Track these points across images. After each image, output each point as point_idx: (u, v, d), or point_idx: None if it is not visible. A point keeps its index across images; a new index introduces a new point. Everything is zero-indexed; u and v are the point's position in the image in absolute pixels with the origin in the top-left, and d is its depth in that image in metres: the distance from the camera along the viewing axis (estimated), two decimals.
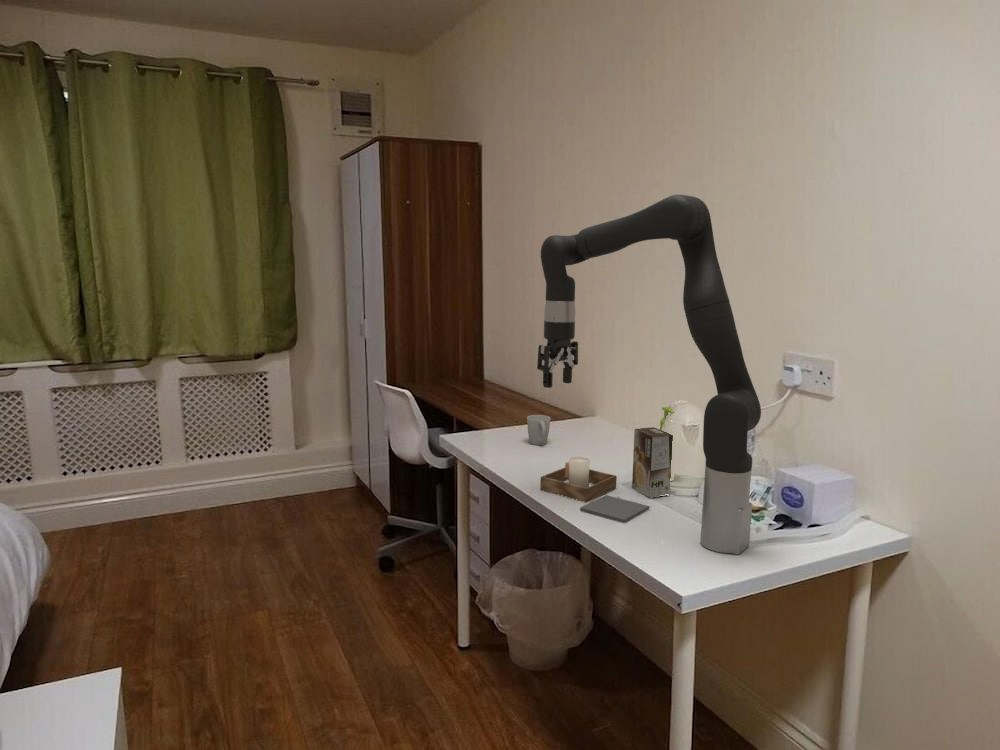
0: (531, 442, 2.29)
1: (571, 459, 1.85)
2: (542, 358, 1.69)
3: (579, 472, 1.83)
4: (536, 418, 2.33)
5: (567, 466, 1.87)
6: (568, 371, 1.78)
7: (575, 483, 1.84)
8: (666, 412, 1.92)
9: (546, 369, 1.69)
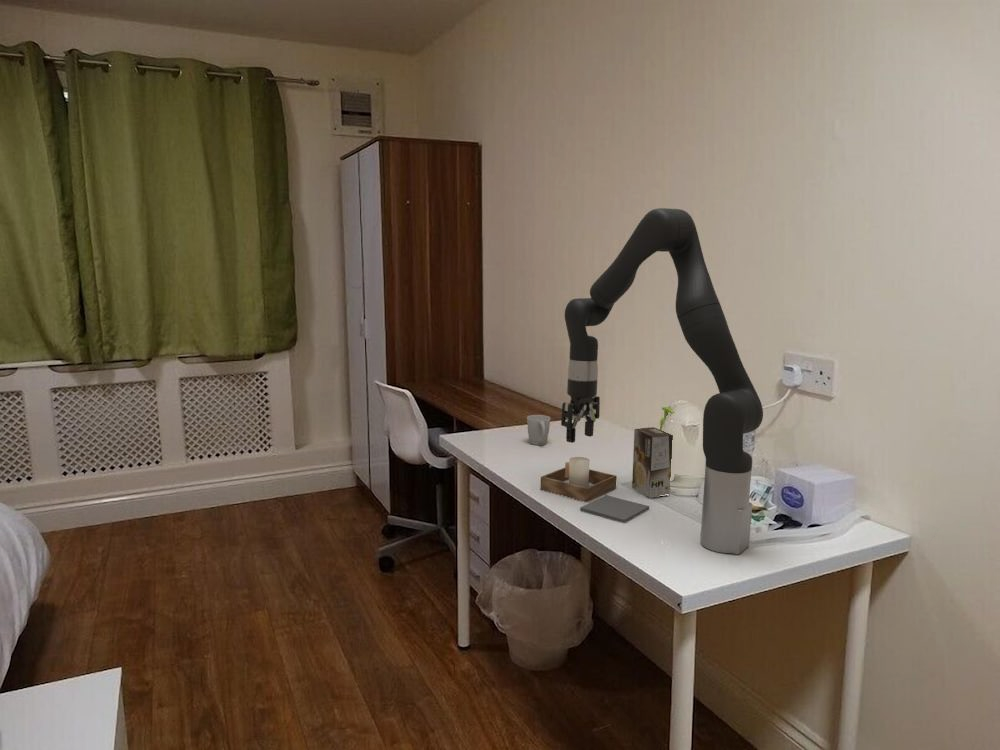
0: (531, 442, 2.29)
1: (571, 459, 1.85)
2: (566, 415, 1.77)
3: (579, 472, 1.83)
4: (536, 418, 2.33)
5: (567, 466, 1.87)
6: (590, 425, 1.86)
7: (575, 483, 1.84)
8: (666, 412, 1.92)
9: (569, 426, 1.77)
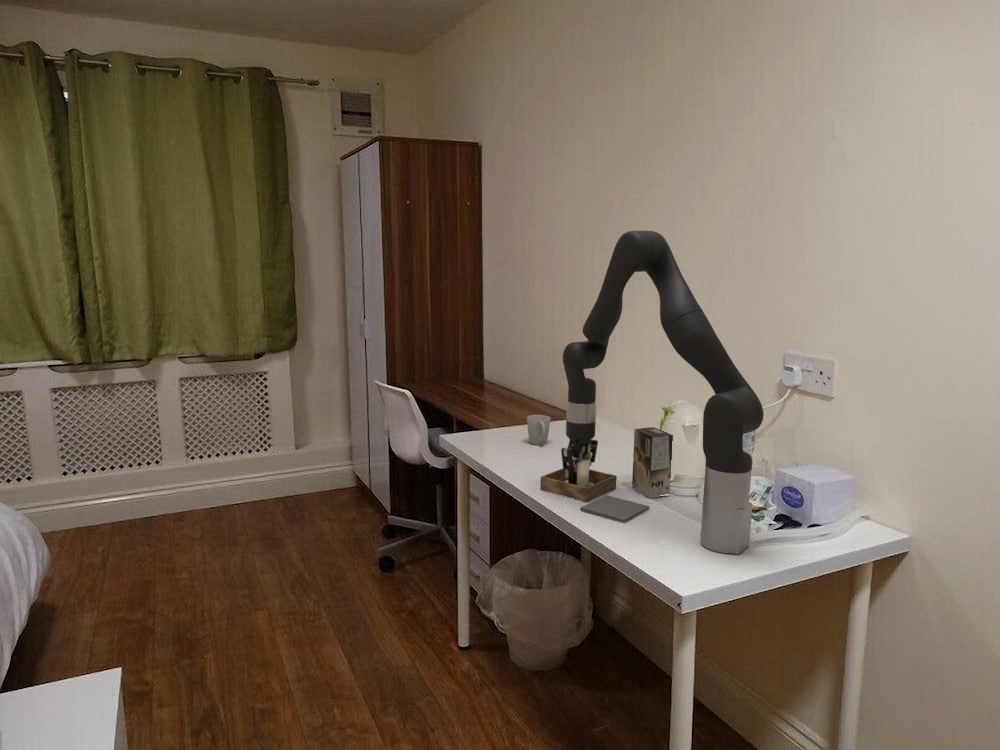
0: (531, 442, 2.29)
1: None
2: (566, 461, 1.80)
3: (579, 472, 1.83)
4: (536, 418, 2.33)
5: None
6: None
7: None
8: (666, 412, 1.92)
9: (571, 470, 1.80)
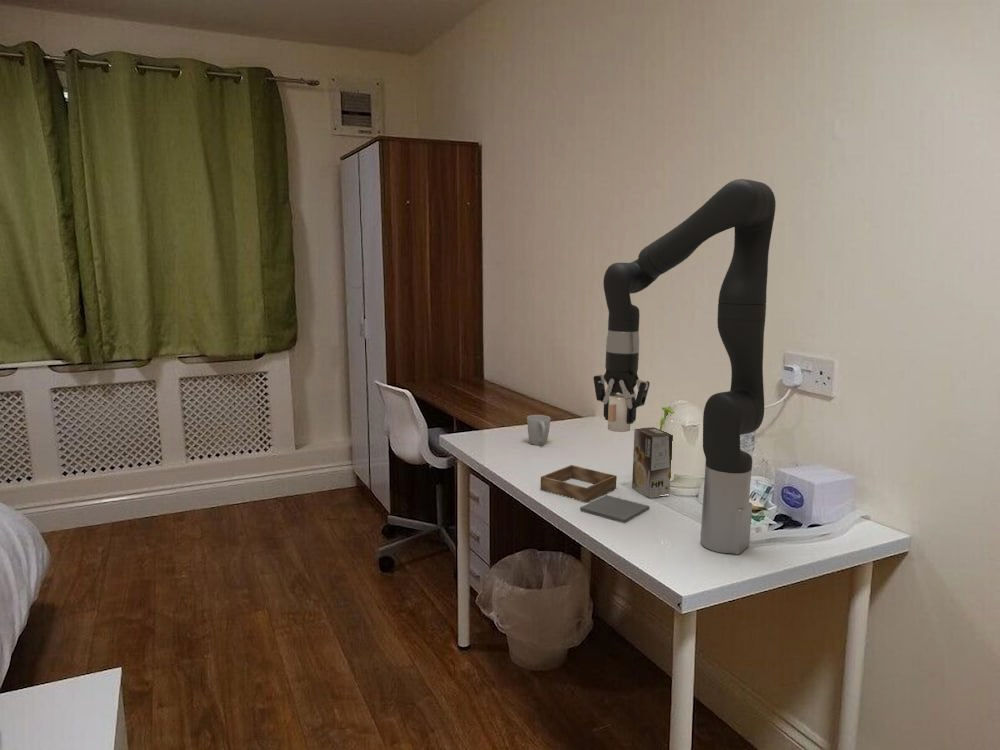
0: (531, 442, 2.29)
1: (623, 397, 1.65)
2: (644, 395, 1.63)
3: None
4: (536, 418, 2.33)
5: (614, 408, 1.64)
6: None
7: None
8: (666, 412, 1.92)
9: None
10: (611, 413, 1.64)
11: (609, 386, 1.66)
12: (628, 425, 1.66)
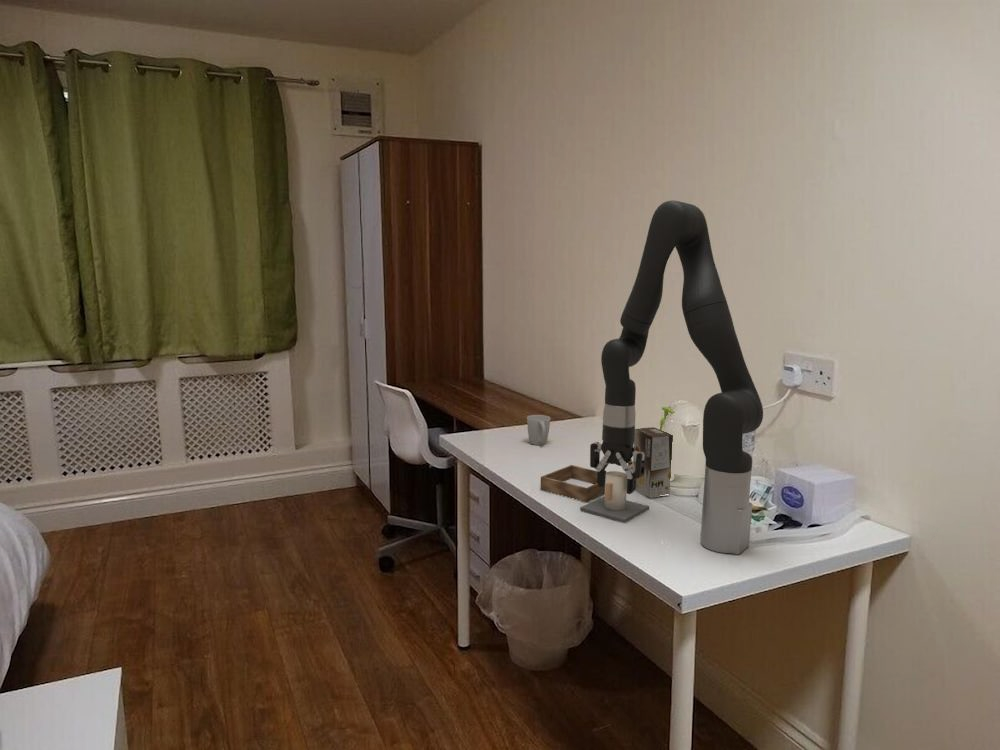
0: (531, 442, 2.29)
1: (619, 477, 1.68)
2: (643, 465, 1.65)
3: None
4: (536, 418, 2.33)
5: (611, 487, 1.68)
6: (604, 474, 1.73)
7: (625, 498, 1.70)
8: (666, 412, 1.92)
9: None
10: (608, 492, 1.68)
11: (605, 457, 1.69)
12: (624, 503, 1.70)
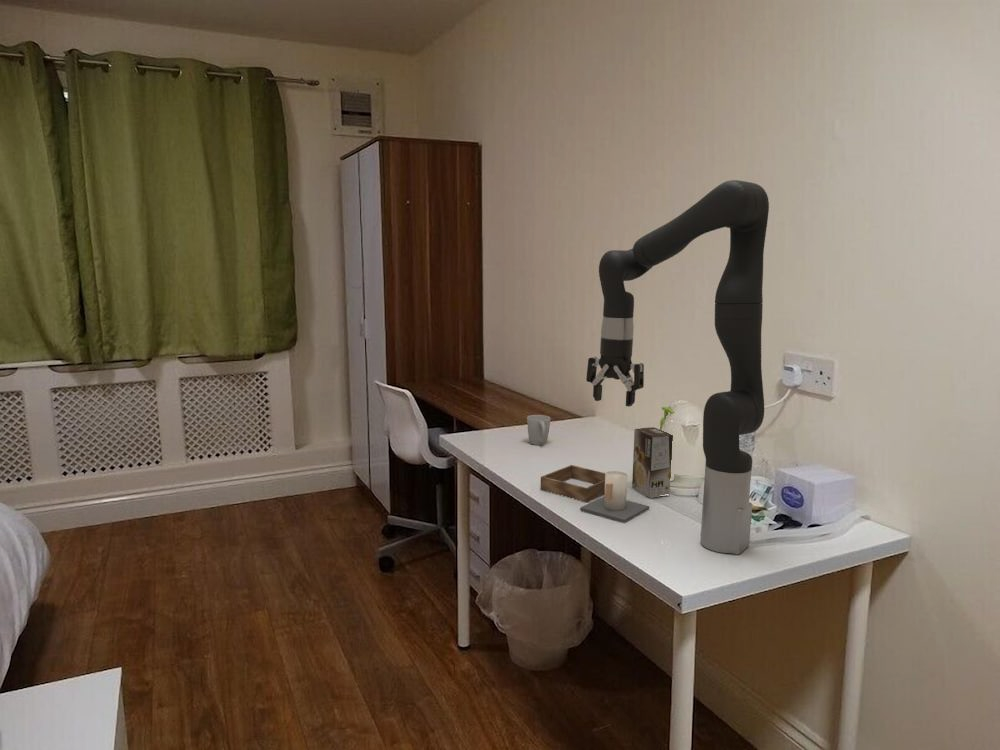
0: (531, 442, 2.29)
1: (619, 477, 1.68)
2: (641, 376, 1.66)
3: (626, 485, 1.70)
4: (536, 418, 2.33)
5: (611, 487, 1.68)
6: (600, 388, 1.74)
7: (625, 498, 1.70)
8: (666, 412, 1.92)
9: None
10: (608, 492, 1.68)
11: (602, 370, 1.70)
12: (624, 503, 1.70)
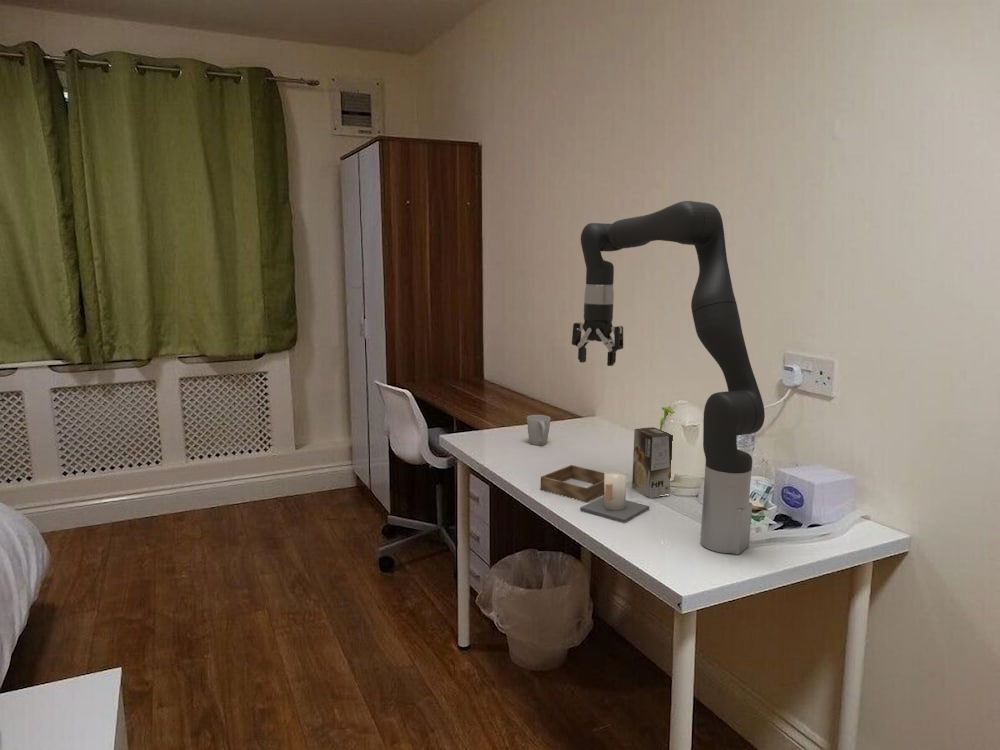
0: (531, 442, 2.29)
1: (618, 477, 1.68)
2: (621, 338, 1.82)
3: None
4: (536, 418, 2.33)
5: (610, 487, 1.68)
6: (585, 351, 1.90)
7: (625, 498, 1.70)
8: (666, 412, 1.92)
9: None
10: (608, 493, 1.67)
11: (586, 334, 1.86)
12: (624, 503, 1.70)
